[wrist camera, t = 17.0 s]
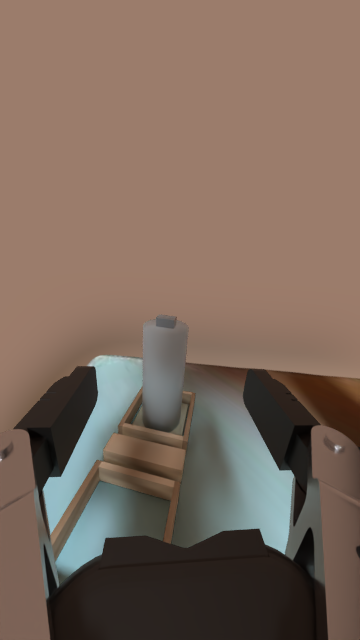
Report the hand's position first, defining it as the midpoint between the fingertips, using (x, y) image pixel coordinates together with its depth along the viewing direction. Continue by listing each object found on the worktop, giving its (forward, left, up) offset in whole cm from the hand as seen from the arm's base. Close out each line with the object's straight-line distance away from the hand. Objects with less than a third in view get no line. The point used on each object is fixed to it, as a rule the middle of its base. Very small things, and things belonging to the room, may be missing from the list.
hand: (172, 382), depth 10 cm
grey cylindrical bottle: (+3, -11, -14) cm, 18 cm away
